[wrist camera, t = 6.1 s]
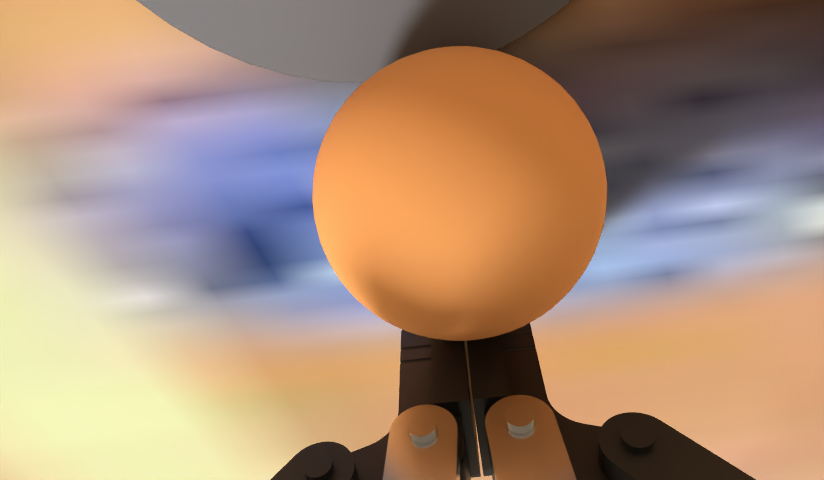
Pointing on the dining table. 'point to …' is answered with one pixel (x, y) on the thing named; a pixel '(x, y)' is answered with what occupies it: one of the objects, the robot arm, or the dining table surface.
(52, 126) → the dining table surface
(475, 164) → the ball
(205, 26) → the disc
